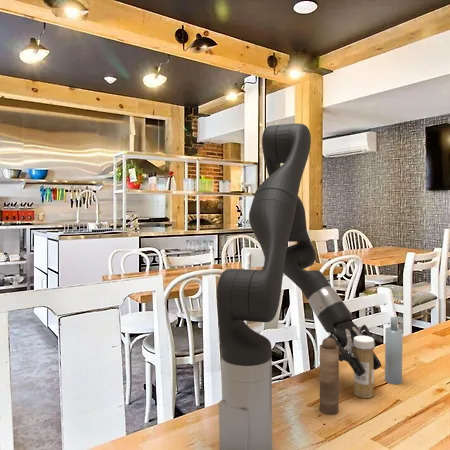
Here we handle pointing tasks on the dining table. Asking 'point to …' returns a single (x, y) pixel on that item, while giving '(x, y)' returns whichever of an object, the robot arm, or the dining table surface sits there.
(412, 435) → the dining table surface
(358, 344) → the sprinkles bottle
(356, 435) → the dining table surface
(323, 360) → the pepper mill
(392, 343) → the ceramic cruet
